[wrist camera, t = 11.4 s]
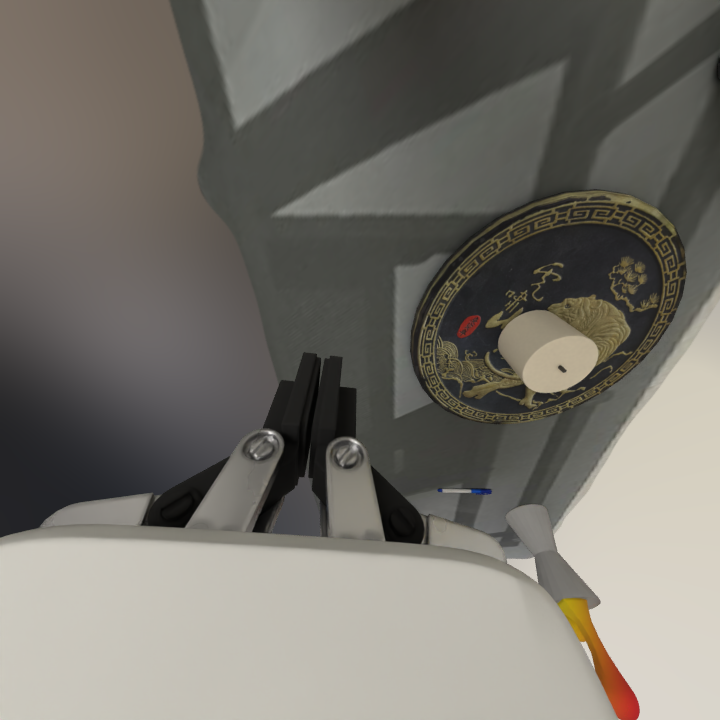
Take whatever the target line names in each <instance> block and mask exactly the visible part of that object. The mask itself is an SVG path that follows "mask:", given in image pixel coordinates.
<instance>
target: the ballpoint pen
mask: <svg viewBox="0 0 720 720" xmlns="http://www.w3.org/2000/svg"><path fill="white" fill-rule="evenodd" d="M438 492H455V493H476V494H479V493H481V494H483V493H487V494H491V492H492V491H491V490H490V489H438ZM483 495H484V494H483Z"/></svg>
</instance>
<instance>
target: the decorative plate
mask: <svg viewBox="0 0 720 720" xmlns="http://www.w3.org/2000/svg"><path fill="white" fill-rule="evenodd" d="M686 273H687V271H686V261H685V250H684V246H683V244H682V242H681V240H680V237H679V235H678V233H677V231H676V228H675V226H674V225H673V224H672V223H671V222H670V221H669V220H668V219H667V218H666V217H665V216H664V215H663V214H662V213H661V212H660V211H659V210H658V209H657V208H655V207H653V206H651V205H649V204H647V203H645V202H643V201H641V200H639V199H637V198H635V197H633V196H631V195H628V194H622V193H616V192H609V191H603V190H585V191H573V192H563V193H559V194H556V195H553V196H549V197H546V198H542V199H539V200H536V201H532V202H529V203H527V204H525V205H523V206H521V207H519V208H517V209H515V210H513V211H511V212H509V213H507V214H505V215H503V216H501V217H499V218H497V219H495V220H494V221H493V222H491V223H490V224H488V225H487V226H486V227H484V228H483V229H481V230H480V231H479V232H477V233H476V234H474V235H473V236H472V237H470V238H469V239H468V240H467V241H466V242H465V243H464V244H463V245H462V246H461V247H460V248H459V249H458V250H457V251H456V252H455V253H454V254H453V255H452V256H451V257H450V258H448V259H447V260H446V262H445V263H444V264H443V266H442V267H441V268H440V270H439V271H438V273H437V274H436V275H435V277H434V278H433V279H432V281H431V282H430V284H429V285H428V287H427V289H426V291H425V293H424V295H423V297H422V299H421V301H420V303H419V306H418V308H417V311H416V314H415V318H414V322H413V326H412V330H411V346H410V352H411V358H412V363H413V368H414V372H415V374H416V376H417V378H418V380H419V382H420V384H421V386H422V388H423V389H424V391H425V392H426V393H427V394H428V395H429V397H430V398H431V399H432V400H433V401H434V402H435V403H437V404H438V405H439V406H441V407H442V408H443V409H445V410H446V411H448V412H450V413H452V414H455V415H457V416H459V417H461V418H464V419H468V420H472V421H476V422H481V423H491V424H513V423H522V422H528V421H533V420H539V419H542V418H545V417H549V416H552V415H555V414H559V413H561V412H564V411H566V410H568V409H571V408H573V407H576V406H578V405H580V404H582V403H584V402H586V401H588V400H589V399H591V398H593V397H595V396H597V395H599V394H600V393H602V392H604V391H605V390H606V389H608V388H609V387H611V386H612V385H614V384H615V383H616V382H618V381H619V380H621V379H622V378H623V377H624V376H626V375H627V374H628V373H629V372H630V371H631V370H632V369H633V368H635V367H636V366H637V365H638V364H639V363H640V362H641V361H642V360H643V359H644V358H645V357H646V356H647V354H648V353H649V352H650V351H651V350H652V349H653V348H654V346H655V345H656V344H657V343H658V342H659V340H660V339H661V337H662V336H663V334H664V332H665V331H666V329H667V328H668V326H669V325H670V323H671V322H672V320H673V318H674V315H675V313H676V310H677V308H678V306H679V303H680V301H681V298H682V295H683V290H684V284H685V279H686ZM534 310H545V311H549V312H551V313H553V314H555V315H556V316H558V317H559V318H560V319H562V320H563V321H565V322H566V323H568V324H569V325H571V326H572V327H573V328H575V329H576V330H578V331H579V332H581V333H582V334H583V335H585V336H586V337H588V338H589V339H591V340H592V341H593V342H594V343H595V344H596V346H597V348H598V359H597V362H596V365H595V366H594V368H593V369H592V371H591V372H590V373H589V374H588V375H587V376H586V377H585V378H584V379H583V380H581V381H580V382H578V383H577V384H575V385H573V386H572V387H569V388H567V389H565V390H562V391H558V392H553V393H540V392H536V391H533V390H531V389H529V388H528V387H527V386H526V385H525V384H524V382H523V381H522V380H521V379H520V377H519V376H518V375H517V374H516V372H515V371H514V370H513V369H512V367H511V366H510V365H509V364H508V363H507V361H506V360H505V359H504V358H503V356H502V355H501V354H500V352H499V349H498V340H499V337H500V334H501V332H502V331H503V329H504V328H505V327H506V325H507V324H508V323H509V322H511V321H512V320H513V319H514V318H516V317H518V316H519V315H521V314H524V313H526V312H529V311H534Z"/></svg>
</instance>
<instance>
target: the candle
mask: <svg viewBox="0 0 720 720" xmlns="http://www.w3.org/2000/svg"><path fill="white" fill-rule="evenodd" d="M498 349H499V352H500V354H501V355H502V356H503V358H504V359H505V360H506V361H507V363H508V364H509V365H510V366H511V367H512V369H513V370H514V371H515V372H516V374H517V375H518V376H519V377H520V379H521V380H522V381H523V382H524V384H525V385H526V386H527V387H528V388H529V389H531V390H533V391H536V392H540V393H553V392H558V391H562V390H565V389H567V388H569V387H572V386H573V385H575V384H577V383H578V382H580V381H581V380H583V379H584V378H585V377H586V376H587V375H588V374H589V373H590V372H591V371H592V369H593V368H594V366H595V365H596V362H597V359H598V348H597V346H596V344H595V343H594V342H593V341H592V340H591V339H589V338H588V337H586V336H585V335H583V334H582V333H581V332H579V331H578V330H576V329H575V328H573V327H572V326H571V325H569V324H568V323H566V322H565V321H563V320H562V319H560V318H559V317H558V316H556V315H555V314H553V313H551V312H549V311H545V310H534V311H529V312H526V313H524V314H521V315H519V316H518V317H516V318H514V319H513V320H512V321H511V322H509V323H508V324H507V325H506V327H505V328H504V329H503V331H502V332H501V334H500V337H499V340H498Z"/></svg>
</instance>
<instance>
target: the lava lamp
mask: <svg viewBox="0 0 720 720" xmlns="http://www.w3.org/2000/svg"><path fill="white" fill-rule="evenodd" d="M505 519H506V521H507V522H508V523H509V525H510V526H511V527H512V529H513V530H514V531H515V533H516V534H517V535H518V536H519V538H520V539H521V540H522V542H523V543H524V544H525V546H526V547H527V548H528V549H529V551H530V552H531V553H532V555H533V556H534V557H535V563H536V569H537V576H538V582H539V585H540V586H542V587H543V588H544V589H545V590H546V591H547V592H548V593H549V594H550V596H551V597H552V598H553V599H554V601H555V602H556V603H557V605H558V606H559V607H560V609H561V610H562V612H563V613H564V615H565V617H566V618H567V620H568V621H569V623H570V625H571V627H572V628H573V630H574V632H575V634H576V636H577V637H578V639H579V641H580V642H585V641H586V642H587V644H588V647H589V649H590V651H591V653H592V657H593V662H594V666H595V672H596V674H597V676H598V678H599V680H600V682H601V684H602V686H603V688H604V690H605V692H606V694H607V696H608V699H609V701H610V703H611V705H612V707H613V709H614V711H615V713H616V715H617V717H618V718H619V719H621V720H636V719H637V718H638V716H639V713H640V709H639V703H638V701H637V698H636V696H635V694H634V692H633V691H632V689H631V688H630V687H629V685H628V684H627V682H626V681H625V679H624V678H623V676H622V675H621V673H620V672H619V671H618V669H617V667H616V666H615V664H614V663H613V661H612V660H611V658H610V657H609V655H608V653H607V652H606V650H605V648H604V646H603V644H602V642H601V641H600V639H599V637H598V635H597V632H596V630H595V628H594V626H593V624H592V622H591V618H590V614H589V609H592V608H594V607H596V606H598V605H599V604H600V600H599V598H598V597H597V596H596V595H595V593H594V592H593V591H592V590H591V589H590V588H589V587H588V586H587V585H586V583H585V582H584V581H583V580H582V579H581V578H580V577H579V576H578V575H577V573H575V571H574V570H573V569H572V568H571V567H570V566H569V565H568V563H567V562H566V561H565V560H564V559H563V558H562V557H561V556H560V554H559V553H558V552H557V548H556V544H555V540H554V535H553V531H552V527H551V523H550V519H549V515H548V511H547V508H545V507H544V506H541V505H536V504H531V505H524V506H519V507H517V508H514V509H513V510H511V511H509V512H508V513H507V515H506V517H505Z"/></svg>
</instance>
